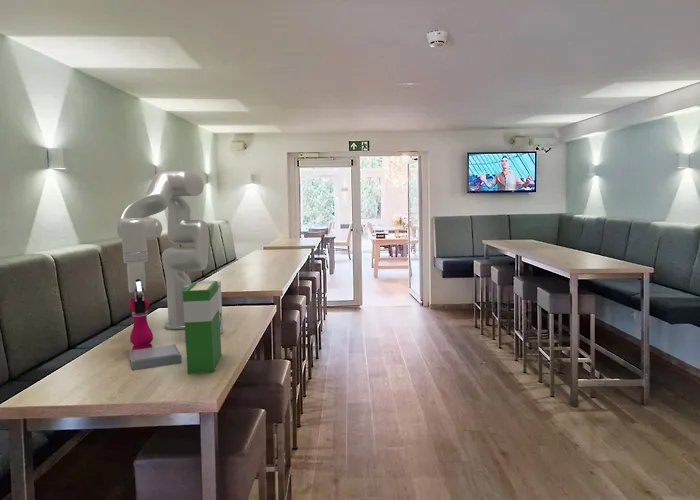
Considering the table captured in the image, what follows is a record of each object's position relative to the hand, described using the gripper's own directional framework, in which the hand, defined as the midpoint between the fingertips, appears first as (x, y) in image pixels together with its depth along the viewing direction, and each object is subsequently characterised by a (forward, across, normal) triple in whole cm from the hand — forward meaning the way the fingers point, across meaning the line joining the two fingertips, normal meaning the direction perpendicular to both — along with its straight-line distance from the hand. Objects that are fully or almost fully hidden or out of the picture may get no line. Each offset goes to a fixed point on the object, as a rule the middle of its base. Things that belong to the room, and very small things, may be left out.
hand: (139, 310), depth 180 cm
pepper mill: (+14, 0, 0) cm, 14 cm away
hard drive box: (+14, -8, +22) cm, 27 cm away
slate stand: (+14, +14, +3) cm, 19 cm away
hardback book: (+14, +25, +16) cm, 33 cm away
